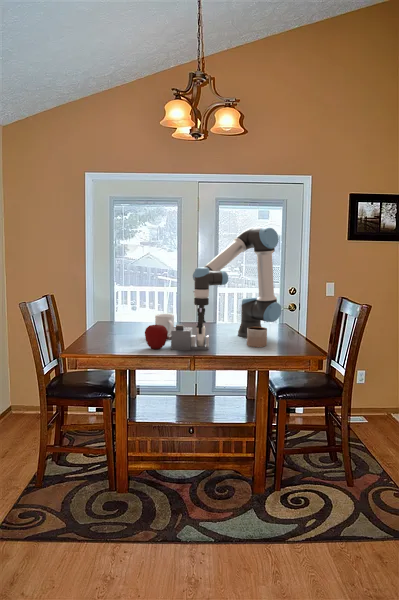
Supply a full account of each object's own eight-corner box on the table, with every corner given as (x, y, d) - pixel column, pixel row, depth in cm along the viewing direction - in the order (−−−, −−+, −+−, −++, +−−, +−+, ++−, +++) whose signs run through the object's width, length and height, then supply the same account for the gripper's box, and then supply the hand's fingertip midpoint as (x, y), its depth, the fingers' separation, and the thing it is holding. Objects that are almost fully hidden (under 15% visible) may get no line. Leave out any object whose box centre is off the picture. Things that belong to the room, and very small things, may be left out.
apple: (148, 351, 241) (148, 325, 240) (142, 347, 252) (141, 322, 250) (171, 349, 246) (171, 324, 245) (163, 345, 257) (163, 321, 255)
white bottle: (205, 344, 254) (205, 322, 252) (204, 346, 249) (205, 323, 248) (196, 344, 254) (197, 322, 253) (196, 346, 250) (196, 323, 248)
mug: (180, 339, 276) (181, 316, 274) (164, 340, 270) (164, 318, 268) (168, 334, 288) (168, 313, 287) (151, 336, 282) (151, 314, 281)
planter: (261, 348, 254) (262, 330, 252) (243, 346, 259) (243, 328, 258) (269, 345, 263) (270, 327, 262) (252, 342, 268) (252, 325, 267)
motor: (208, 346, 257) (209, 324, 256) (208, 350, 246) (208, 327, 244) (168, 344, 259) (168, 323, 257) (165, 349, 247) (165, 326, 245)
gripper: (195, 294, 261) (195, 333, 264) (192, 299, 237) (192, 342, 239) (209, 295, 261) (208, 333, 263) (207, 300, 236) (207, 342, 239)
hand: (200, 337), depth 251 cm, fingers open, 13 cm apart
